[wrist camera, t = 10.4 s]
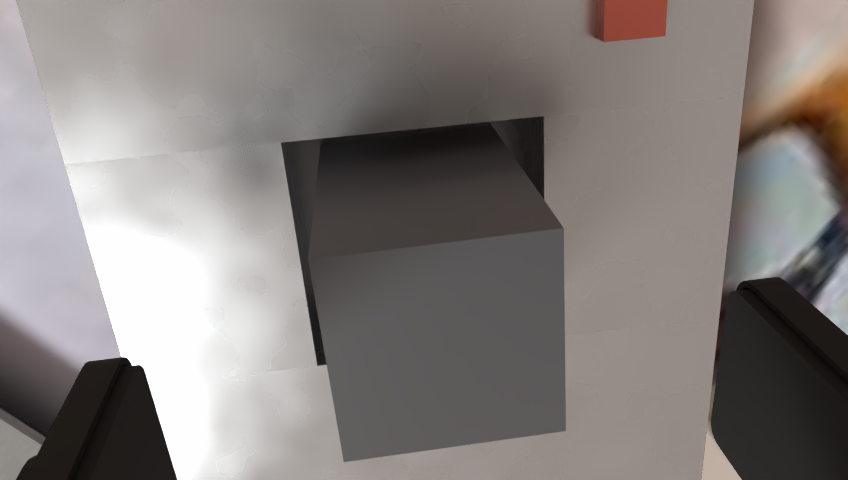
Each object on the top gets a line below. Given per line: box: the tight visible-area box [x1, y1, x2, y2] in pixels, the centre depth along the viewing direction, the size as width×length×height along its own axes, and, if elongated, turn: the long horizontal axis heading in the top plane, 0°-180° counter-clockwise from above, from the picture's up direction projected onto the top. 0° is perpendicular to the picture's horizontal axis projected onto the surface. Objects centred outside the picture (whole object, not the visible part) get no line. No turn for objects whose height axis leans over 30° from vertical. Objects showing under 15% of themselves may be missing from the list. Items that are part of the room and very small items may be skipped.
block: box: [308, 125, 566, 462], centre depth 17 cm, size 5×5×7 cm
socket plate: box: [16, 0, 754, 480], centre depth 19 cm, size 18×16×4 cm
